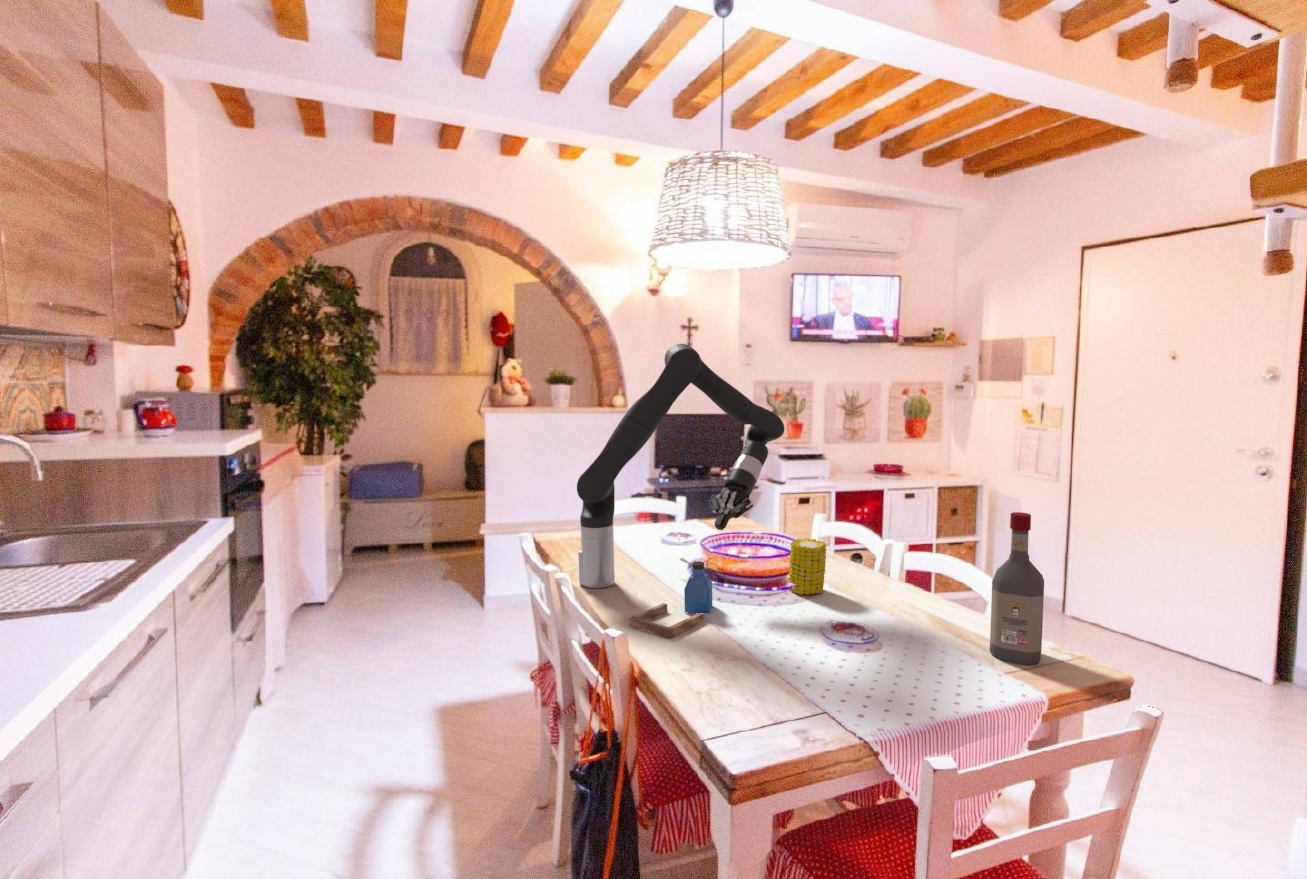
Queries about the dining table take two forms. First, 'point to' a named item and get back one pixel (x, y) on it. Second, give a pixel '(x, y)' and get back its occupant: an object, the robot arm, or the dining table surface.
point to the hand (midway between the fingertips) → (718, 528)
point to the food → (807, 566)
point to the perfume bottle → (698, 590)
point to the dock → (668, 632)
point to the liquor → (1017, 601)
